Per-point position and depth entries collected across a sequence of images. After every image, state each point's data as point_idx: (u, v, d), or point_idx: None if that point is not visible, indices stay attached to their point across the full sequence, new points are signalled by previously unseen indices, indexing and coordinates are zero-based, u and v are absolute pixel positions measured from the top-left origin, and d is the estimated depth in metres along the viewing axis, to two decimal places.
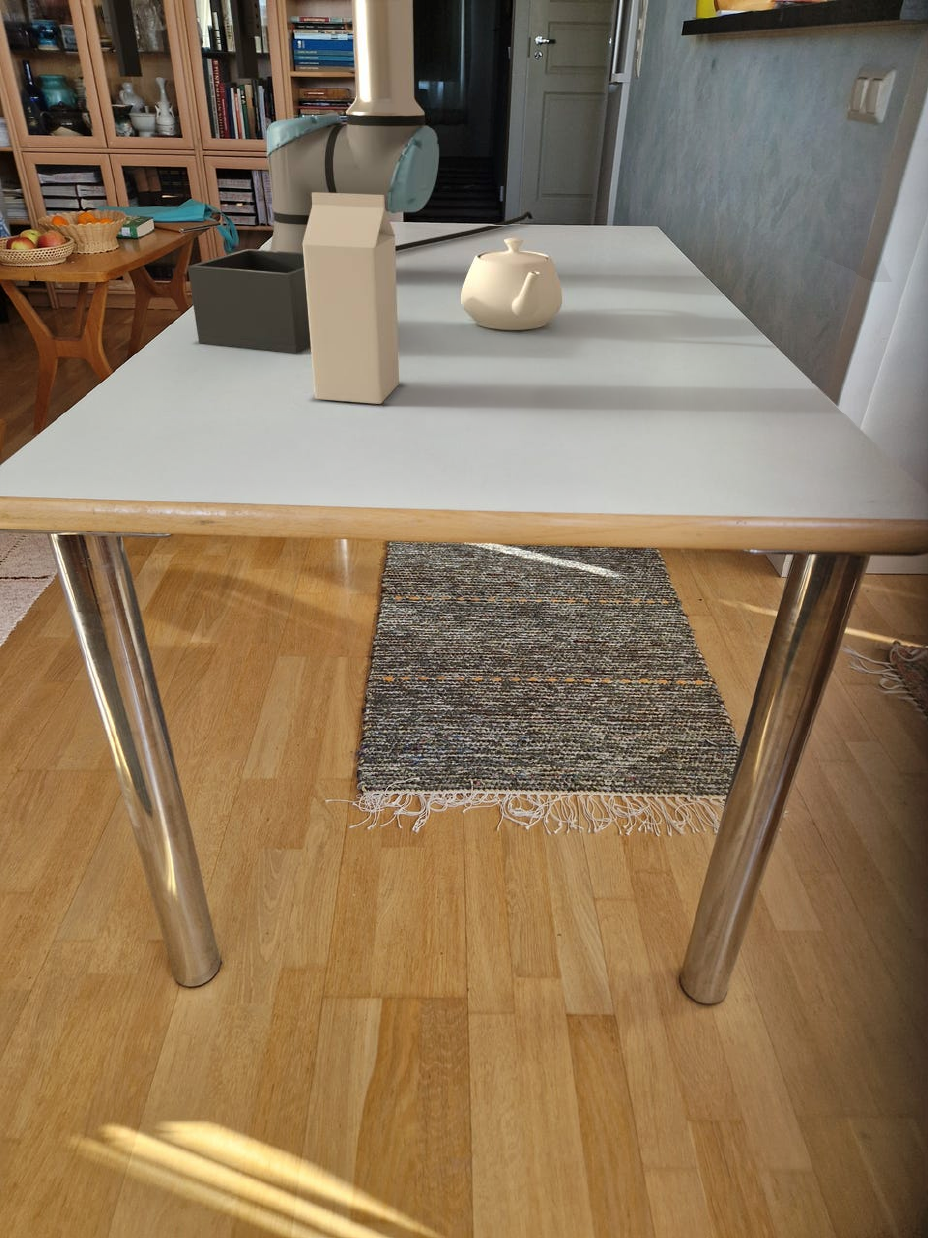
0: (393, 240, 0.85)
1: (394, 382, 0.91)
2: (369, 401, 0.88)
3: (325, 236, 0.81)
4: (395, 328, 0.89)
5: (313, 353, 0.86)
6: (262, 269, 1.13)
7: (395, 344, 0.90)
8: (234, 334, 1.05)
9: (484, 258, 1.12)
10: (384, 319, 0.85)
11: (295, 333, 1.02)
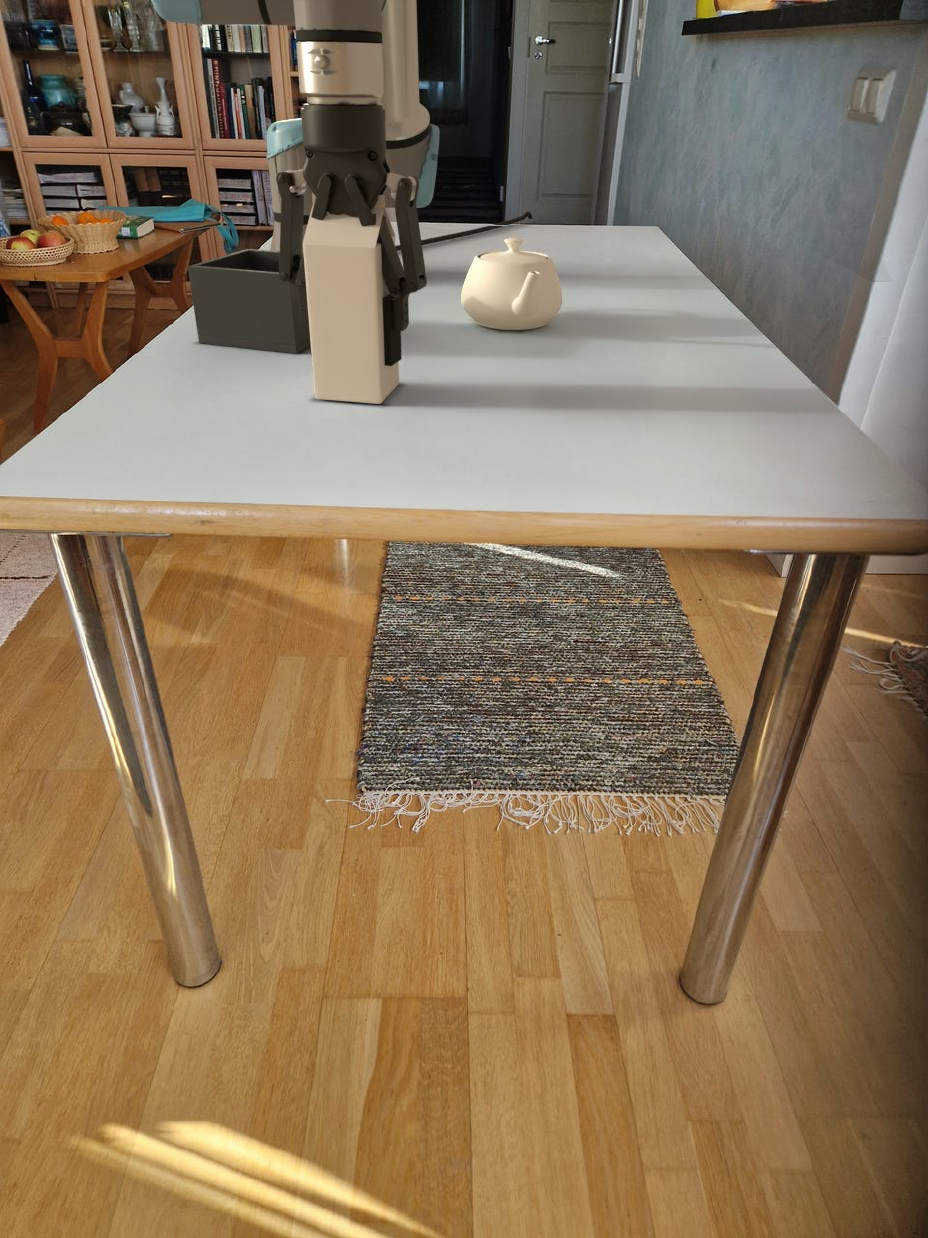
0: (393, 240, 0.85)
1: (394, 382, 0.91)
2: (369, 401, 0.88)
3: (325, 236, 0.81)
4: None
5: (313, 353, 0.86)
6: (262, 269, 1.13)
7: None
8: (234, 334, 1.05)
9: (484, 258, 1.12)
10: None
11: (295, 333, 1.02)
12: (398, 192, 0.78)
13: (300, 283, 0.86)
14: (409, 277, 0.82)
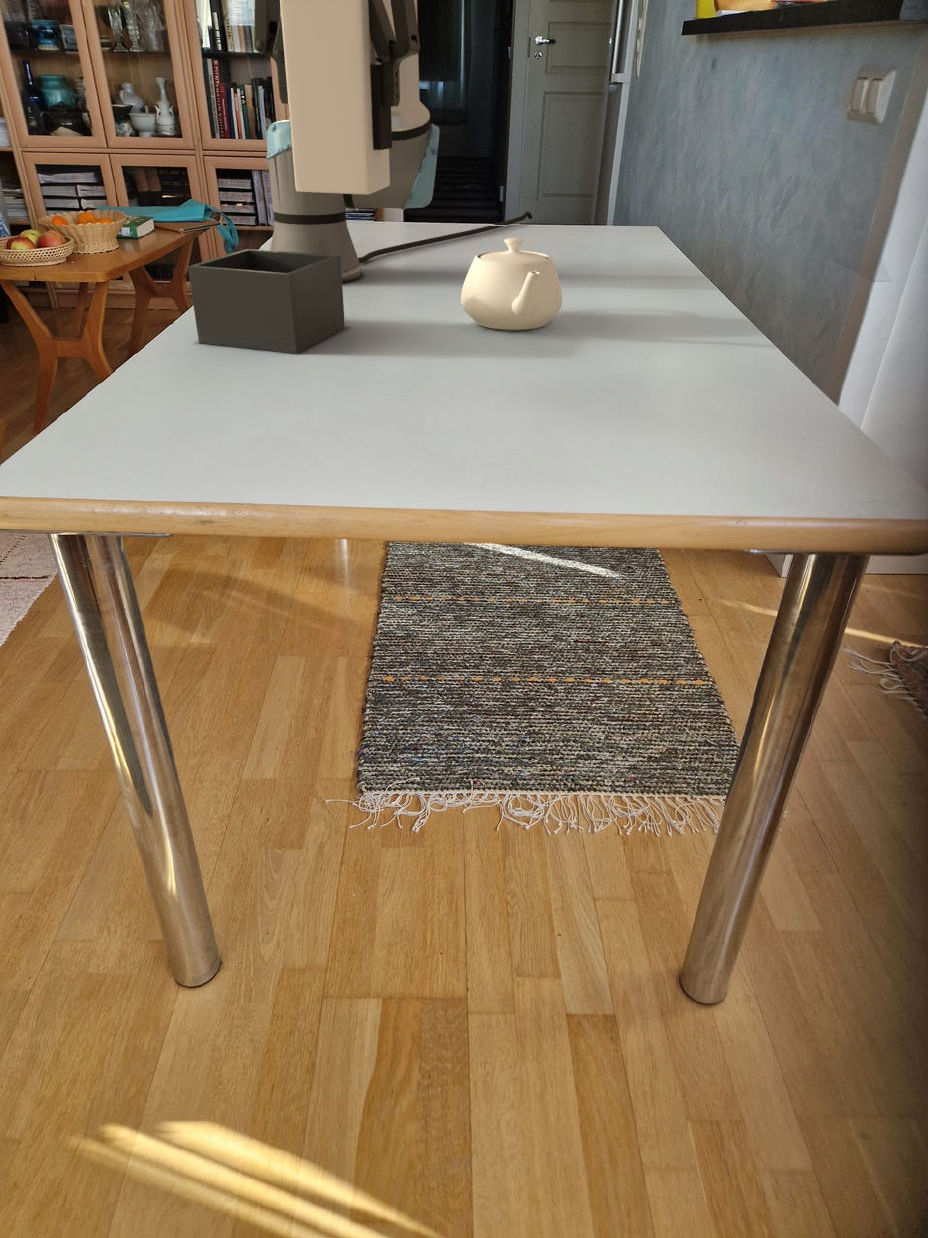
0: None
1: (384, 180, 0.82)
2: (356, 191, 0.78)
3: None
4: None
5: (293, 133, 0.77)
6: (262, 269, 1.13)
7: None
8: (234, 334, 1.05)
9: (484, 258, 1.12)
10: None
11: (295, 333, 1.02)
12: None
13: (278, 53, 0.76)
14: (400, 35, 0.73)
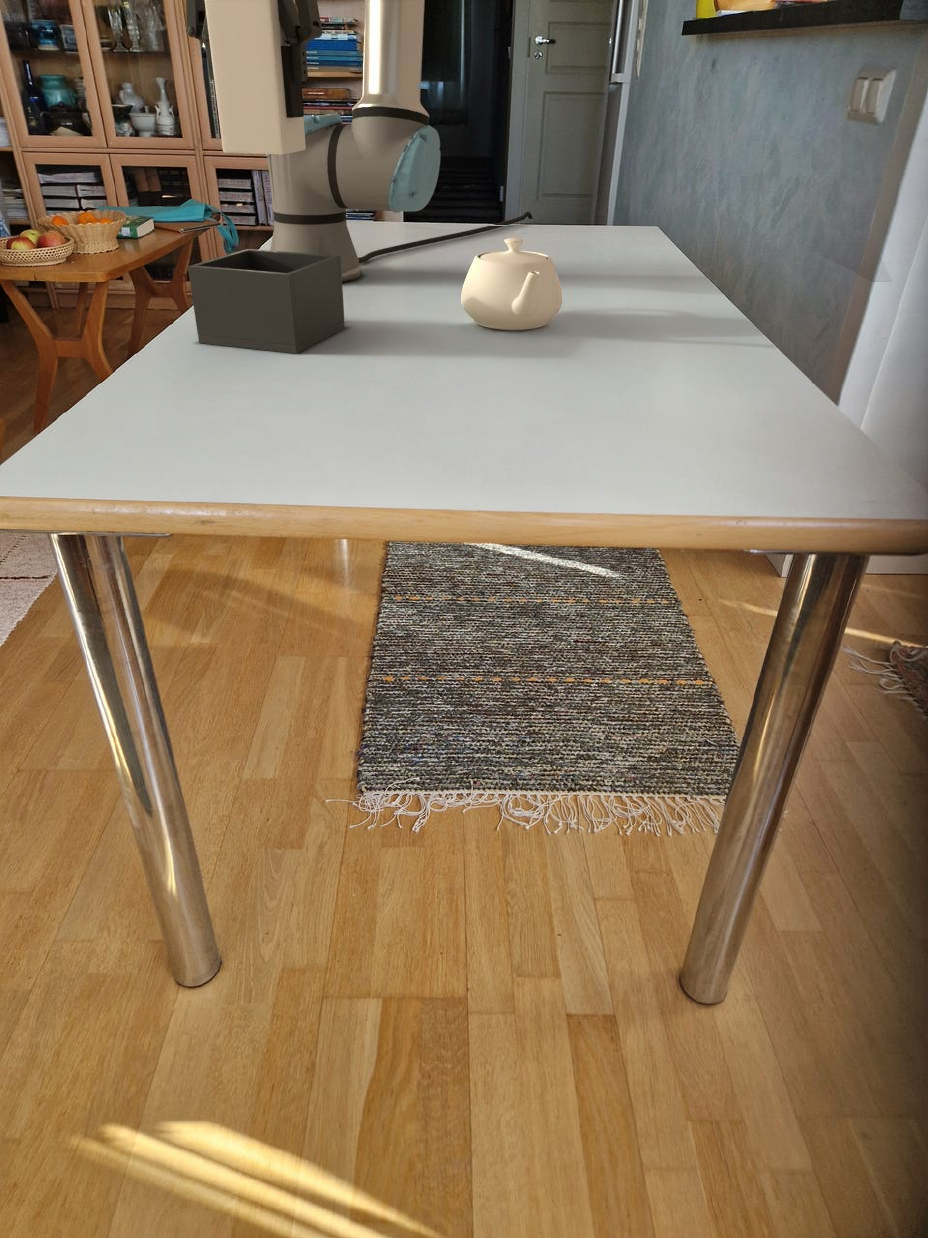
0: None
1: (299, 144, 0.98)
2: (272, 152, 0.94)
3: None
4: None
5: (219, 103, 0.92)
6: (262, 269, 1.13)
7: None
8: (234, 334, 1.05)
9: (484, 258, 1.12)
10: None
11: (295, 333, 1.02)
12: None
13: (206, 37, 0.92)
14: (303, 21, 0.88)
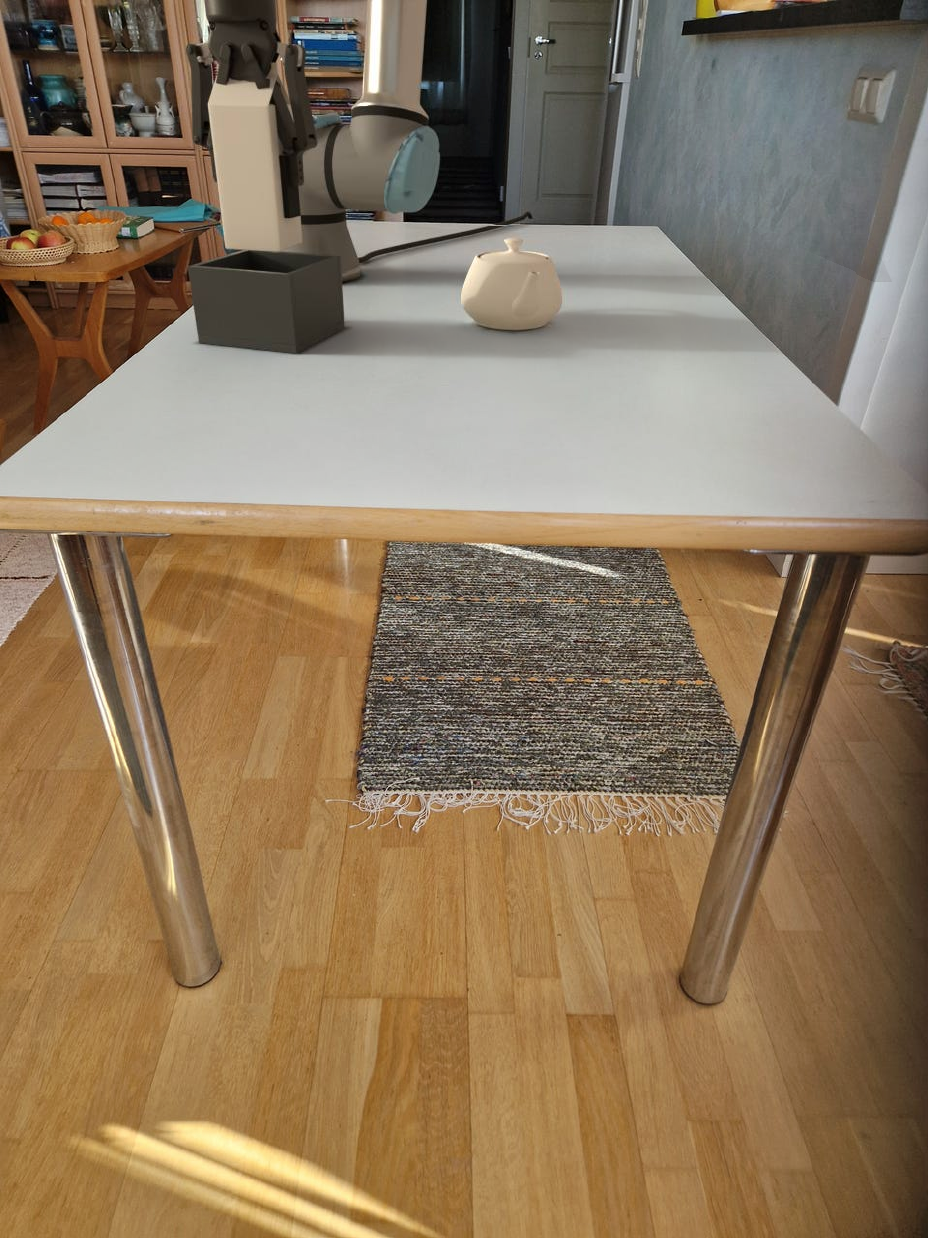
0: (289, 107, 0.99)
1: (296, 239, 1.05)
2: (271, 249, 1.02)
3: (227, 97, 0.95)
4: None
5: (221, 206, 1.00)
6: (262, 269, 1.13)
7: None
8: (234, 334, 1.05)
9: (484, 258, 1.12)
10: None
11: (295, 333, 1.02)
12: (286, 57, 0.92)
13: (210, 145, 1.00)
14: (300, 135, 0.96)
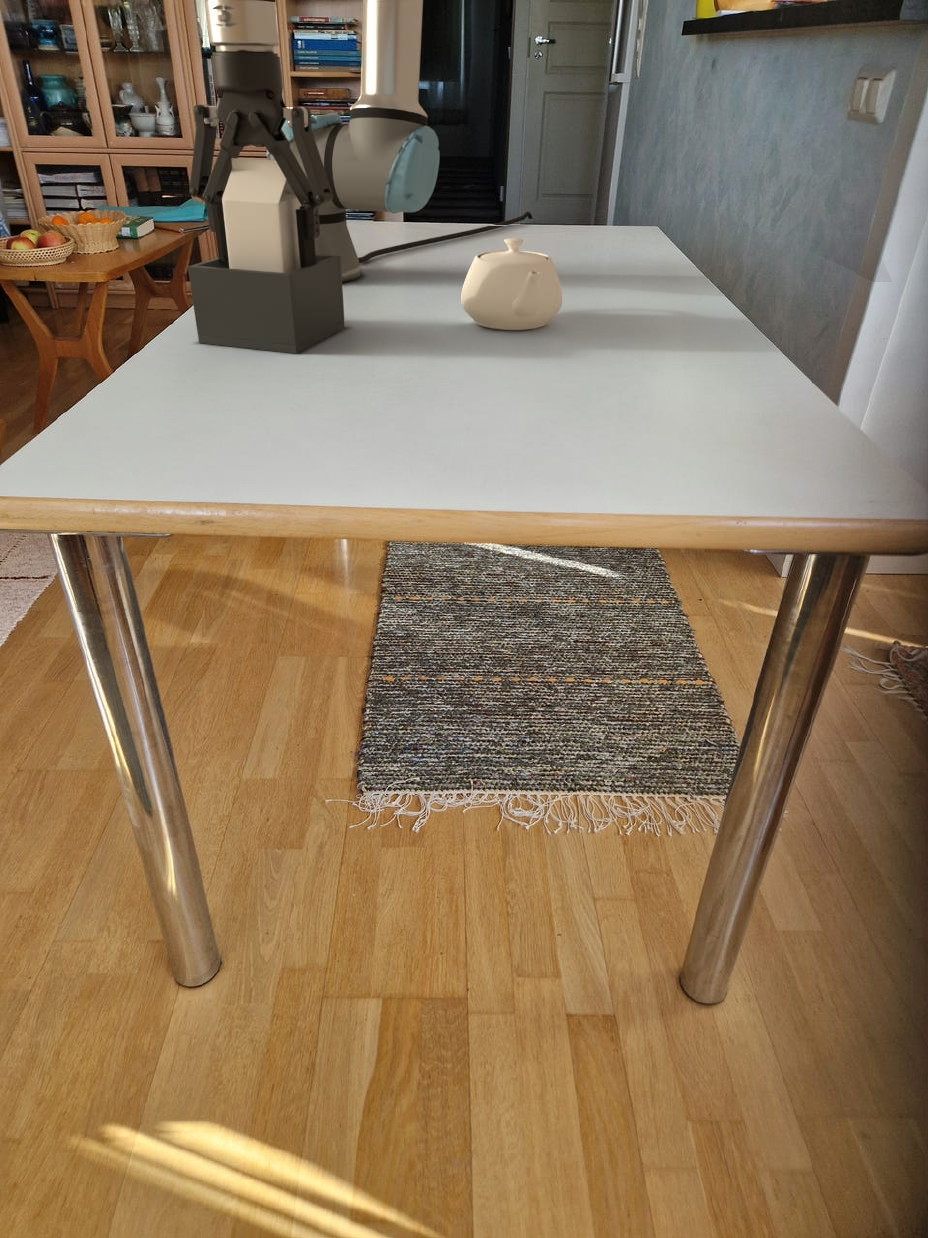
0: None
1: None
2: None
3: (240, 193, 1.00)
4: None
5: None
6: None
7: None
8: (234, 334, 1.05)
9: (484, 258, 1.12)
10: (291, 264, 1.04)
11: (295, 333, 1.02)
12: (293, 120, 0.96)
13: (207, 197, 1.03)
14: (315, 191, 0.99)
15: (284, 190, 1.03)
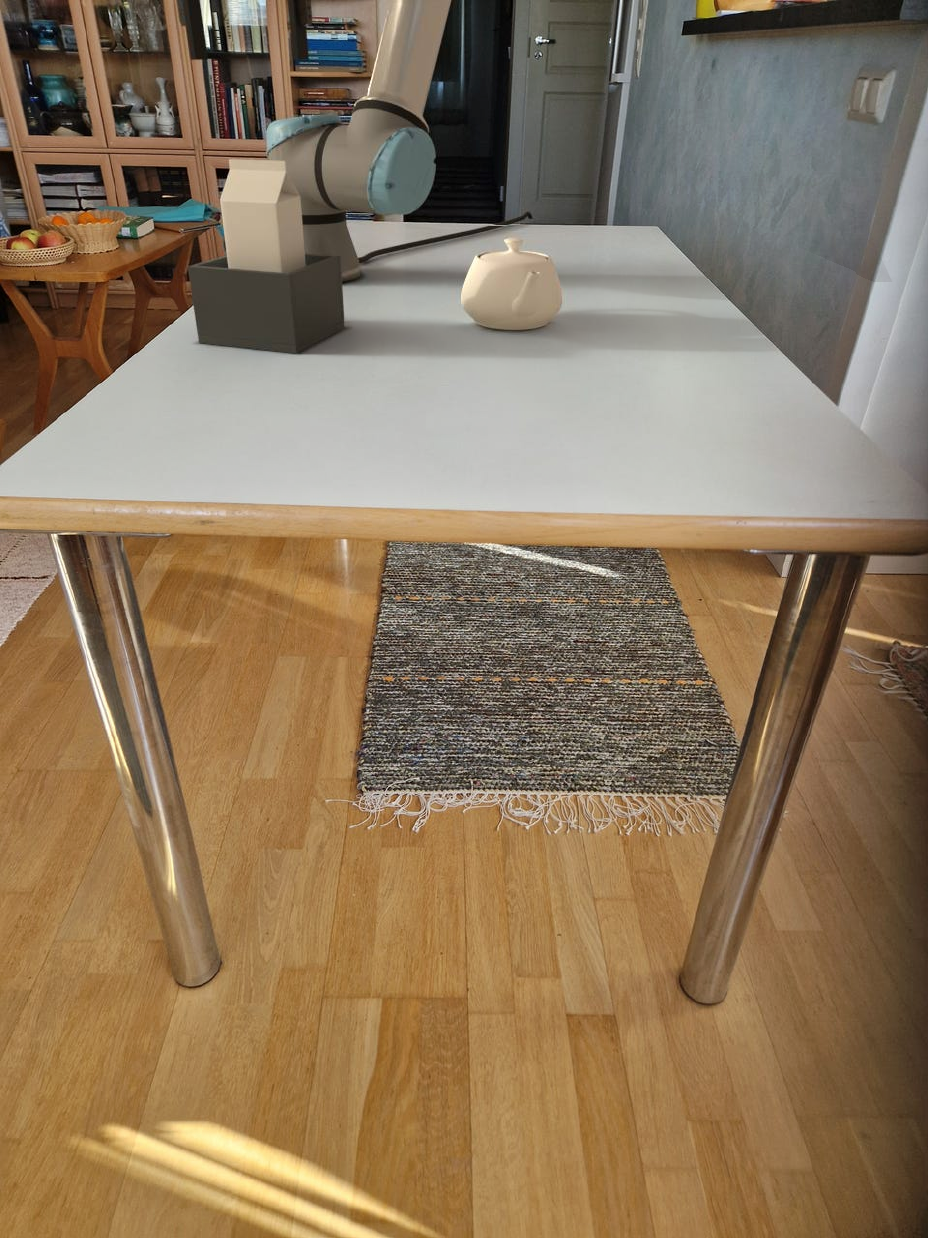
0: (298, 199, 1.04)
1: None
2: None
3: (238, 194, 1.00)
4: None
5: None
6: None
7: None
8: (234, 334, 1.05)
9: (484, 258, 1.12)
10: (290, 264, 1.04)
11: (295, 333, 1.02)
12: None
13: None
14: None
15: (282, 190, 1.03)
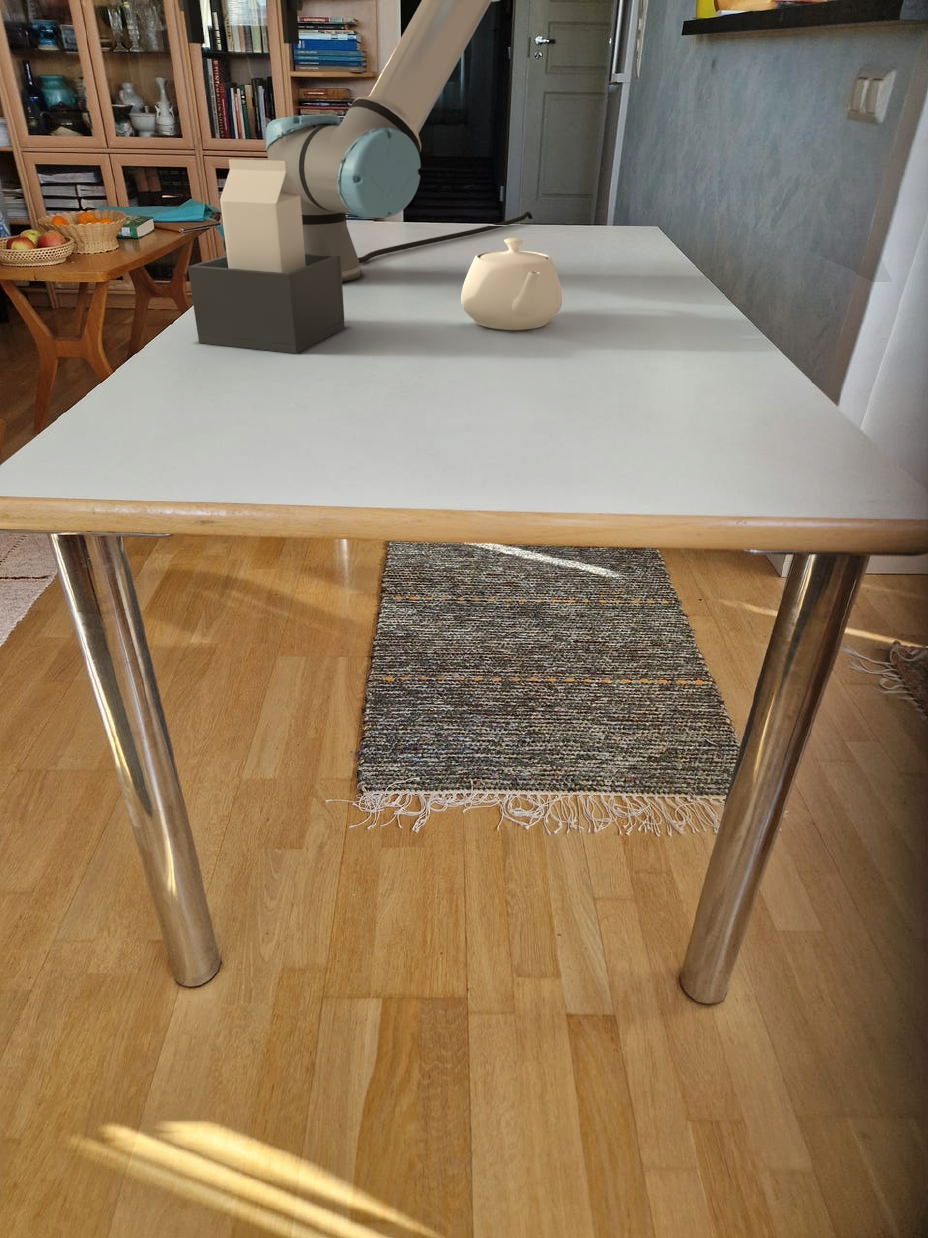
0: (298, 199, 1.04)
1: None
2: None
3: (238, 194, 1.00)
4: None
5: None
6: None
7: None
8: (234, 334, 1.05)
9: (484, 258, 1.12)
10: (290, 264, 1.04)
11: (295, 333, 1.02)
12: None
13: None
14: None
15: (282, 190, 1.03)
